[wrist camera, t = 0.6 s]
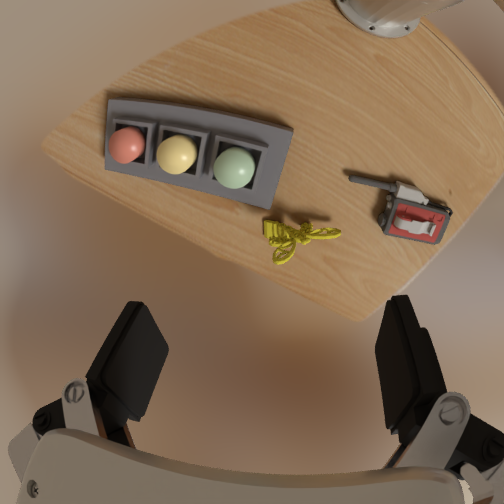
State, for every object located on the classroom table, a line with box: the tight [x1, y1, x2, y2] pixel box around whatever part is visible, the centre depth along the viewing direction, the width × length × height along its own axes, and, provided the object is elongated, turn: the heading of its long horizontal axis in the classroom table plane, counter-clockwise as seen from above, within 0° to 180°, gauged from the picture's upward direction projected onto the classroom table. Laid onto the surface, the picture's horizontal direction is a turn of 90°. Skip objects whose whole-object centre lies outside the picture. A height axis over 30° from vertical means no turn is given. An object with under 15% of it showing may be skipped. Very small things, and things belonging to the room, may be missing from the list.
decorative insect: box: [264, 220, 341, 265], centre depth 42 cm, size 13×3×10 cm
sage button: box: [213, 147, 256, 189], centre depth 34 cm, size 5×5×2 cm
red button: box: [109, 126, 146, 164], centre depth 34 cm, size 5×5×2 cm
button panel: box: [105, 97, 293, 210], centre depth 37 cm, size 12×28×5 cm, turn 76°
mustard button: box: [157, 134, 198, 174], centre depth 34 cm, size 5×5×2 cm
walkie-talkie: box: [349, 175, 453, 245], centre depth 38 cm, size 9×4×20 cm
